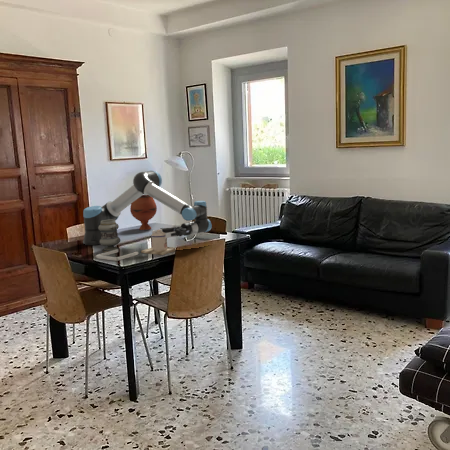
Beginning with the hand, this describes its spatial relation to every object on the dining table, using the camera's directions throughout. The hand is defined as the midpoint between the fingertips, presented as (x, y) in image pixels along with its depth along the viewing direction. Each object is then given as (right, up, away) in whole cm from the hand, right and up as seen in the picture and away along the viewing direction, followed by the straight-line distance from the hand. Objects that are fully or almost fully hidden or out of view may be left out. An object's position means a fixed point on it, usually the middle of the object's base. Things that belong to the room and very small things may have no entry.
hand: (159, 234), depth 278 cm
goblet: (-22, +2, +82) cm, 85 cm away
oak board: (0, -10, +2) cm, 10 cm away
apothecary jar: (-31, -10, +12) cm, 34 cm away
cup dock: (-26, -12, -3) cm, 28 cm away
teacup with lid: (0, -9, +2) cm, 9 cm away
